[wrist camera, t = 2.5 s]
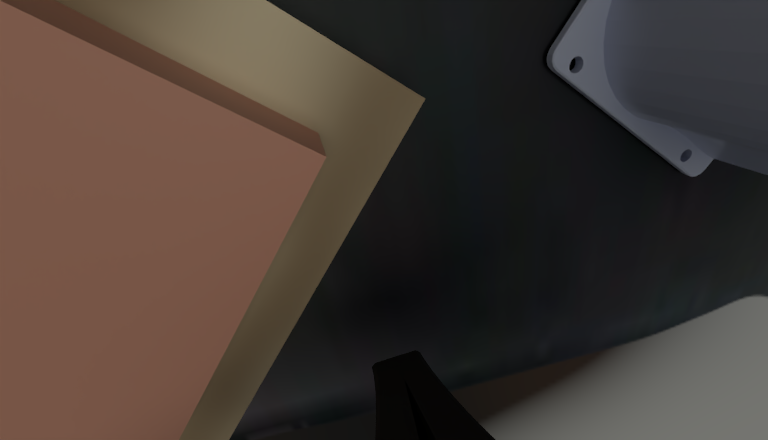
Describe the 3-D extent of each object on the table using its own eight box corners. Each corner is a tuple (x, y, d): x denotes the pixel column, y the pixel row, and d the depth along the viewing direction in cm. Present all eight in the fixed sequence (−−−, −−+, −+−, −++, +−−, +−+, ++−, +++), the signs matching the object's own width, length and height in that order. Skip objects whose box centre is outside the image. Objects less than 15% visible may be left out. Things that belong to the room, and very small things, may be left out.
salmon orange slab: (318, 133, 10) (326, 157, 8) (178, 410, 12) (161, 473, 11) (-128, -92, 6) (-282, -136, 5) (-181, 354, 9) (-290, 432, 7)
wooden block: (394, 83, 12) (425, 98, 10) (227, 389, 16) (217, 458, 14) (-274, -328, 7) (-621, -548, 4) (-284, 294, 11) (-465, 381, 8)
